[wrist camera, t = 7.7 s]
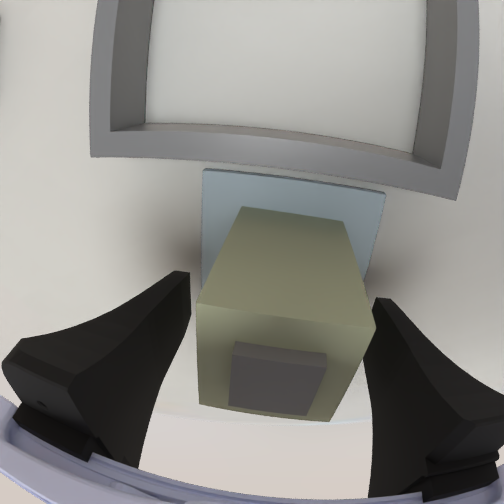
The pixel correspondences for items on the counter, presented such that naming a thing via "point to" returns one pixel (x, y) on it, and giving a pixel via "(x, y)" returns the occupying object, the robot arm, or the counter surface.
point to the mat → (286, 208)
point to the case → (287, 142)
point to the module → (282, 317)
